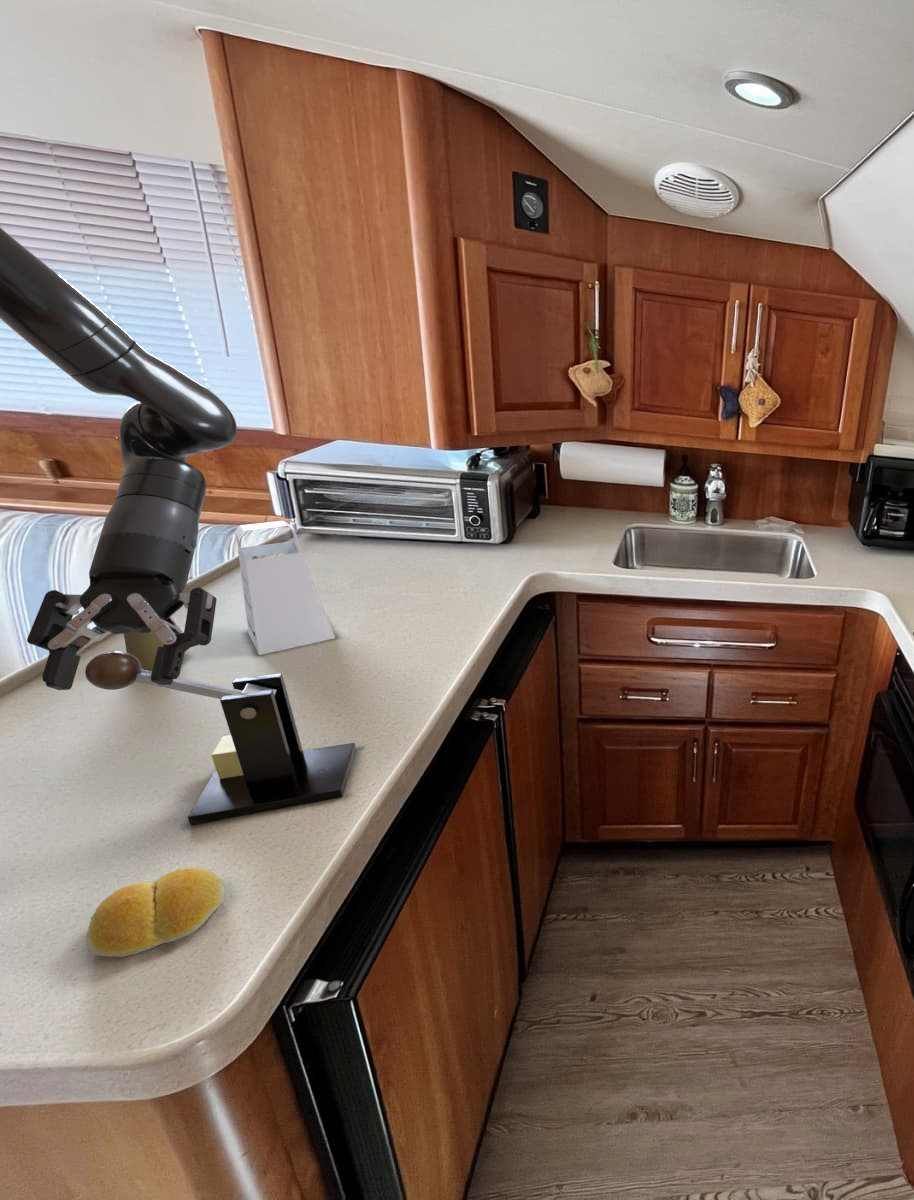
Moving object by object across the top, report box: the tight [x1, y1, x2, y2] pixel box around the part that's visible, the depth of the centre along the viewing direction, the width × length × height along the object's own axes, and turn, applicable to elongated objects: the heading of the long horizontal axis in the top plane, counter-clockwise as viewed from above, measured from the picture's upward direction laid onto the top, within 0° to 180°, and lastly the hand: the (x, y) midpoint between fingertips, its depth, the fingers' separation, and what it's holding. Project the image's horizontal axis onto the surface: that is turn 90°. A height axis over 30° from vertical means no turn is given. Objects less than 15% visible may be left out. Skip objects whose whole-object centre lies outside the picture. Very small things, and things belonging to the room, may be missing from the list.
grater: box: [234, 520, 336, 656], centre depth 107 cm, size 10×10×20 cm
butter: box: [211, 734, 243, 779], centre depth 77 cm, size 4×4×4 cm
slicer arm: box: [84, 650, 277, 700], centre depth 69 cm, size 15×4×4 cm, turn 115°
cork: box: [123, 630, 164, 671], centre depth 97 cm, size 6×6×11 cm
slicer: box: [187, 673, 357, 826], centre depth 74 cm, size 14×10×14 cm
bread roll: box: [85, 867, 225, 958], centre depth 59 cm, size 8×9×4 cm
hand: (110, 685), depth 65 cm, fingers open, 8 cm apart
